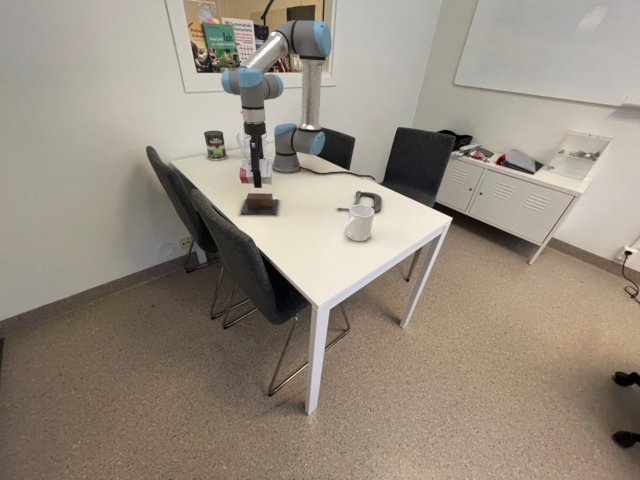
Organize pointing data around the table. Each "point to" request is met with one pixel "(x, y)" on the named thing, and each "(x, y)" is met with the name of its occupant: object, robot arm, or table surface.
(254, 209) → the stand
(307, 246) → the table surface
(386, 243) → the table surface
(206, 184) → the table surface
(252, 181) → the ink box
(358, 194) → the c clamp
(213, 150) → the coffee can
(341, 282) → the table surface
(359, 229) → the mug
